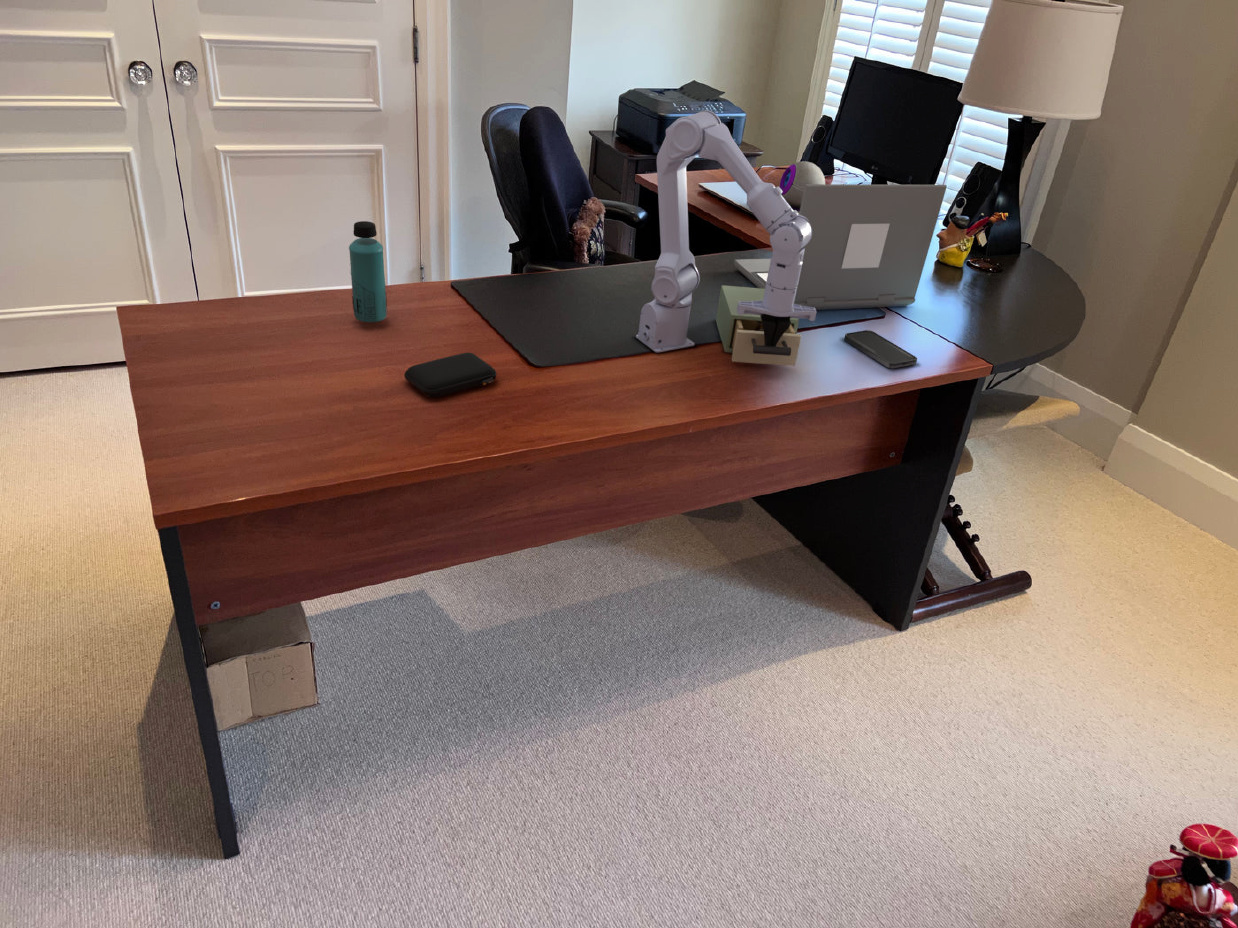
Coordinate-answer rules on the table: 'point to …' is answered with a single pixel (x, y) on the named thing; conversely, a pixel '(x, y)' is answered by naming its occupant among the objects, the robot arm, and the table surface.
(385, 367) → the table surface
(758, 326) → the wooden post with brackets
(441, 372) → the carrying case
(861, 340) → the phone
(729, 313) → the cabinet
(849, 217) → the laptop
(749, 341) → the drawer
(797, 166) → the webcam
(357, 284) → the beverage bottle
